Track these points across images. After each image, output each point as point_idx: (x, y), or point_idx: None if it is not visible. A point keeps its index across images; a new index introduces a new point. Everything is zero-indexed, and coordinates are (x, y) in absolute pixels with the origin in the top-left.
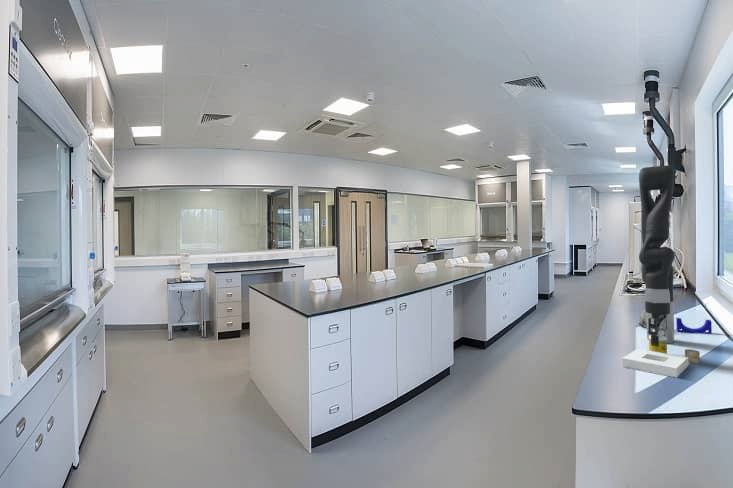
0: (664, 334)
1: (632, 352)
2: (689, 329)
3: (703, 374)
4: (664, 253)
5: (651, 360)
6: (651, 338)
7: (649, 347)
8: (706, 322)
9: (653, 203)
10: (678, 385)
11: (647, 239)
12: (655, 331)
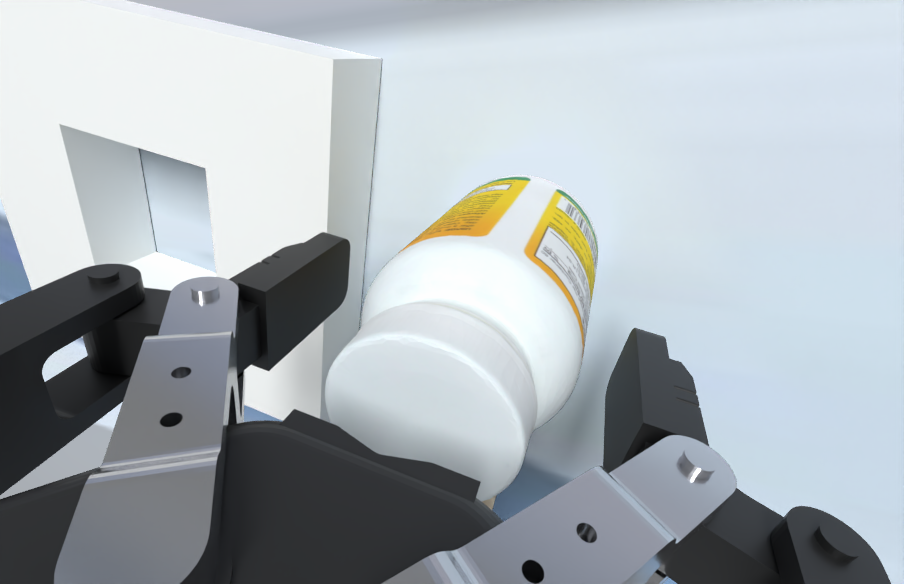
0: (607, 470)
1: (146, 26)
2: None
3: (246, 417)
4: None
5: (62, 199)
6: (271, 269)
7: (479, 197)
8: None
9: None
10: (16, 285)
11: None
12: (62, 378)
